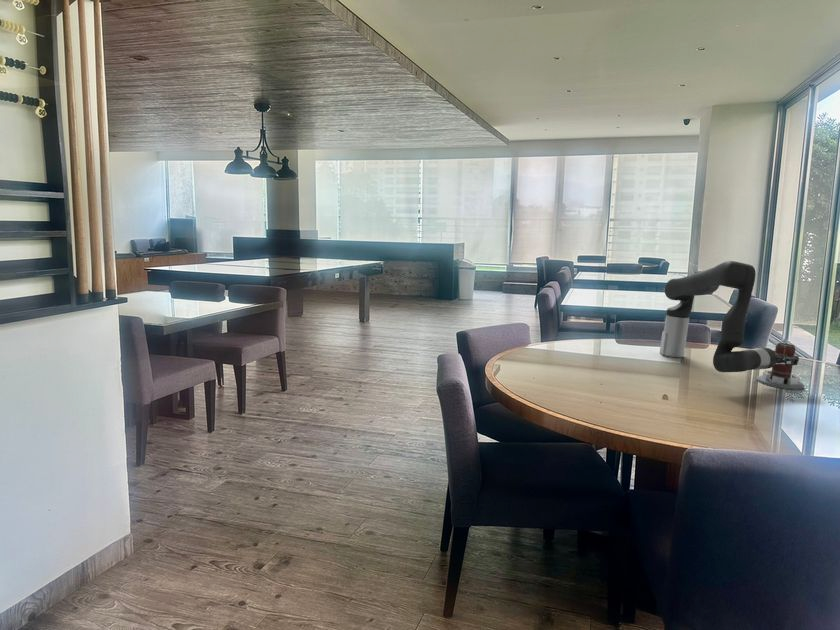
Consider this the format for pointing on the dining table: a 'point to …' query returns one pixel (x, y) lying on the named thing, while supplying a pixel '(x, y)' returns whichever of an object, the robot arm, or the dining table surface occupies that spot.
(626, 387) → the dining table surface
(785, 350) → the can
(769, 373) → the ring collar
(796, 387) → the slate plate
